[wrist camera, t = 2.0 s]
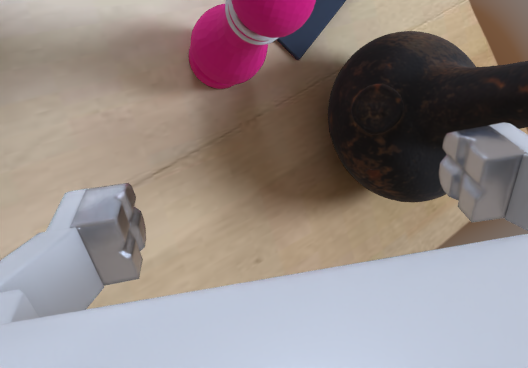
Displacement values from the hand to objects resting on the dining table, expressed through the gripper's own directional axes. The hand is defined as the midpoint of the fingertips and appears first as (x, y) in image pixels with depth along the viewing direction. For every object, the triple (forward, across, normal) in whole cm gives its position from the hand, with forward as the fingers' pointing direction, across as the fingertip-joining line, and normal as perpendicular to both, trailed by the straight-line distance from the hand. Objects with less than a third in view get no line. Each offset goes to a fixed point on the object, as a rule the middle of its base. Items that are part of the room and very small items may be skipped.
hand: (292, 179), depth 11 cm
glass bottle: (+35, -15, +18) cm, 42 cm away
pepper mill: (+35, +2, +7) cm, 36 cm away
